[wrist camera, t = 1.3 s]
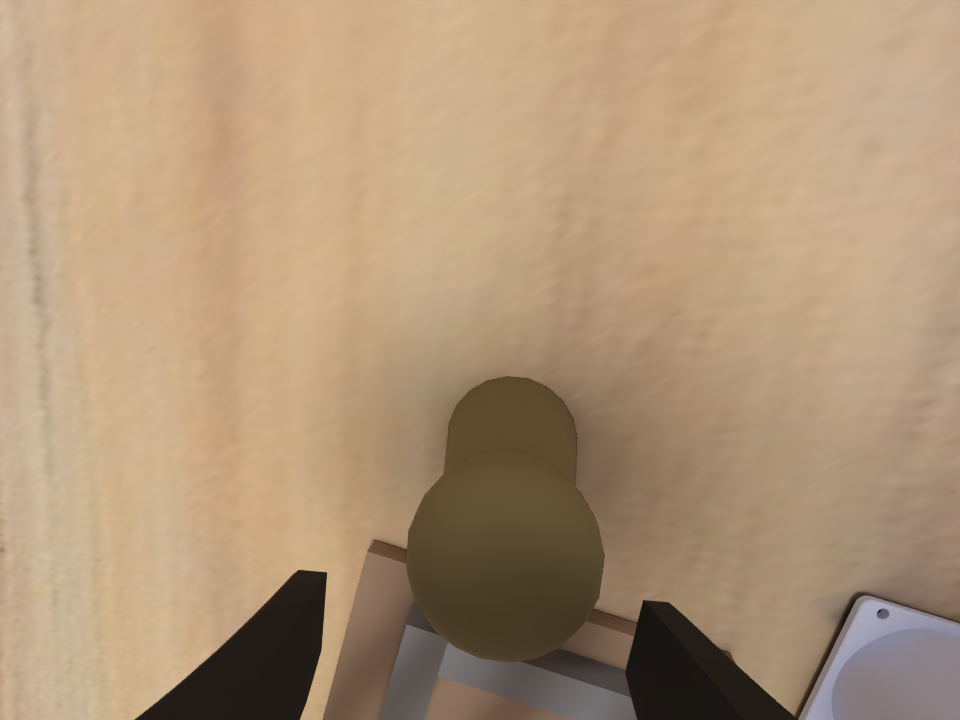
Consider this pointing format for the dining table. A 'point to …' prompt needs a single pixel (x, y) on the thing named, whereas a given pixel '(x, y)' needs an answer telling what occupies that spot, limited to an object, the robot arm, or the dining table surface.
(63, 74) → the dining table surface
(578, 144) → the dining table surface
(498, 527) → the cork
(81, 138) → the dining table surface
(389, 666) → the socket board
